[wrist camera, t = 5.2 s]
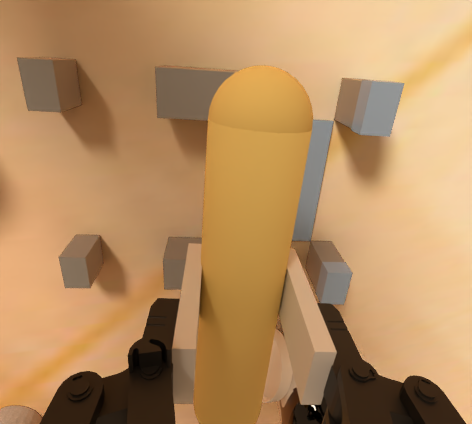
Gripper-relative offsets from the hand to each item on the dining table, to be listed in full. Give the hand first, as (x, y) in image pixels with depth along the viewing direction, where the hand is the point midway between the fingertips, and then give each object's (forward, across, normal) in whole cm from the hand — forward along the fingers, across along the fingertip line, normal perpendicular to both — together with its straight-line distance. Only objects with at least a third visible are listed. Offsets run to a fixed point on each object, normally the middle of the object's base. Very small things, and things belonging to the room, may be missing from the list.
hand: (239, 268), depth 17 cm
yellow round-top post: (+1, 0, 0) cm, 1 cm away
